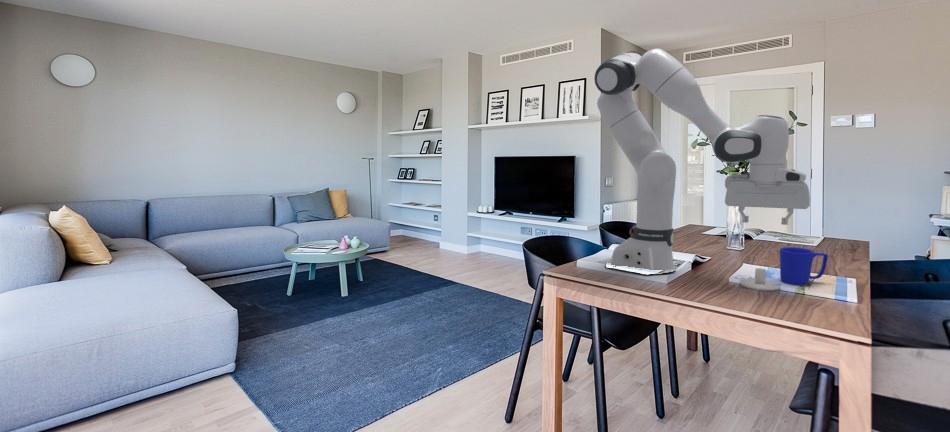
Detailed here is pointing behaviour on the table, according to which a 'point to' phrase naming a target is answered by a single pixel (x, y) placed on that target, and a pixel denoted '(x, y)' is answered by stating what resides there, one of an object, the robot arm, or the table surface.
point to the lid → (760, 282)
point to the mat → (759, 290)
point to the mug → (798, 265)
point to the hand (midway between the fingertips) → (764, 223)
